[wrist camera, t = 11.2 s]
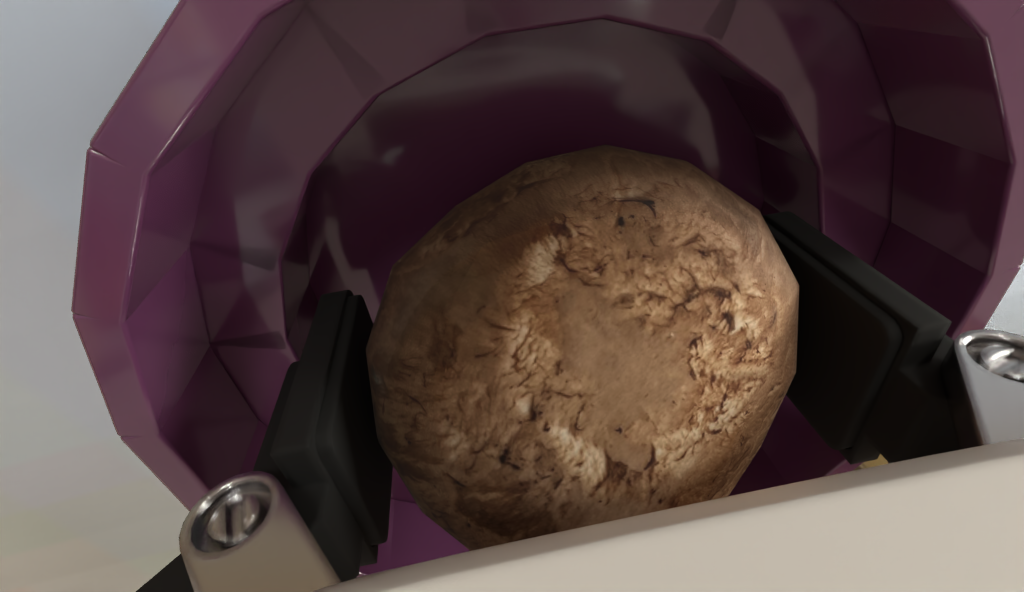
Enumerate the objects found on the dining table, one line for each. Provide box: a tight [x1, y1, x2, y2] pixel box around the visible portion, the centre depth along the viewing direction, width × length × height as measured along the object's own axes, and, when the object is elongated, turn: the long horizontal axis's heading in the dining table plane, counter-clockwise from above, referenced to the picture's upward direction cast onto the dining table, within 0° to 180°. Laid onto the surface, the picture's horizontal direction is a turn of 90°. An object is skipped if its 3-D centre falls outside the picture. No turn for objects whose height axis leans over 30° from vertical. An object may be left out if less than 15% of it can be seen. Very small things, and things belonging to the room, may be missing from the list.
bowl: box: [71, 0, 1024, 578], centre depth 11 cm, size 15×15×5 cm
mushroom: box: [366, 144, 799, 551], centre depth 10 cm, size 8×8×6 cm
